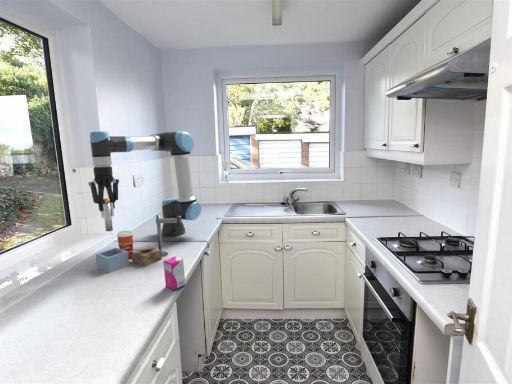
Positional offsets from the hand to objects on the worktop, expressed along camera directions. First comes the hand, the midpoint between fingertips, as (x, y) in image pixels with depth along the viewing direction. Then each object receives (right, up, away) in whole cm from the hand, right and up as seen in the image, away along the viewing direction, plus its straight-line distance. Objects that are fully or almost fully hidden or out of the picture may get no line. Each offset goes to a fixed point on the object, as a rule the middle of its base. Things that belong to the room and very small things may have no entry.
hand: (107, 216), depth 137 cm
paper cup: (+3, -23, +14) cm, 27 cm away
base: (+19, -22, +17) cm, 34 cm away
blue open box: (+1, -24, +4) cm, 25 cm away
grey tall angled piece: (+24, -20, +17) cm, 36 cm away
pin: (0, -7, +1) cm, 7 cm away
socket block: (+14, -23, +10) cm, 29 cm away
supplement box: (+36, -27, -17) cm, 48 cm away
